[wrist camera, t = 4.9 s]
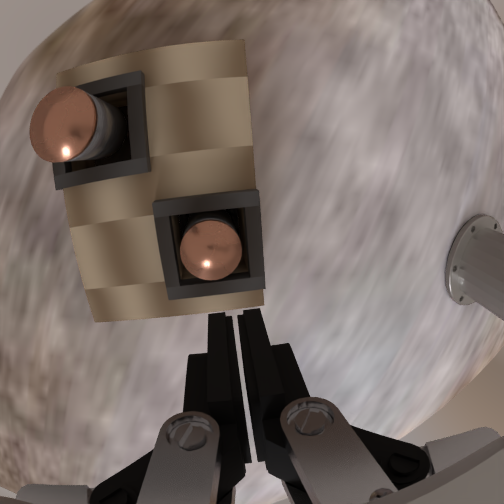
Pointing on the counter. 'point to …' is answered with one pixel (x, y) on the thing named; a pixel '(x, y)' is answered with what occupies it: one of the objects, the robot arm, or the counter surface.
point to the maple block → (165, 181)
